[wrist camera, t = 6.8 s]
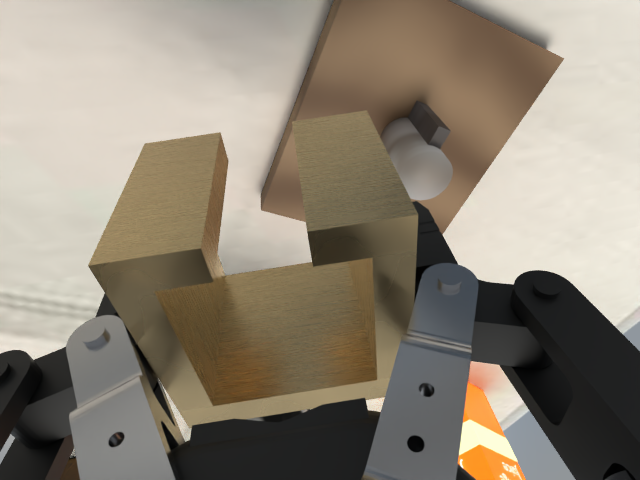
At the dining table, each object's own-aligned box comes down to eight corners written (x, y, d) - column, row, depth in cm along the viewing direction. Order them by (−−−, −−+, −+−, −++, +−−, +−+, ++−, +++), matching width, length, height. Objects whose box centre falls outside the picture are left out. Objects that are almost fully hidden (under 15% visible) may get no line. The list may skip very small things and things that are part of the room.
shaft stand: (420, 239, 36) (451, 298, 30) (260, 195, 31) (262, 255, 26) (546, 50, 27) (619, 85, 22) (351, -49, 23) (383, -35, 17)
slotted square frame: (373, 271, 16) (409, 392, 12) (206, 297, 16) (189, 428, 12) (366, 110, 12) (418, 214, 8) (144, 143, 12) (87, 265, 8)
